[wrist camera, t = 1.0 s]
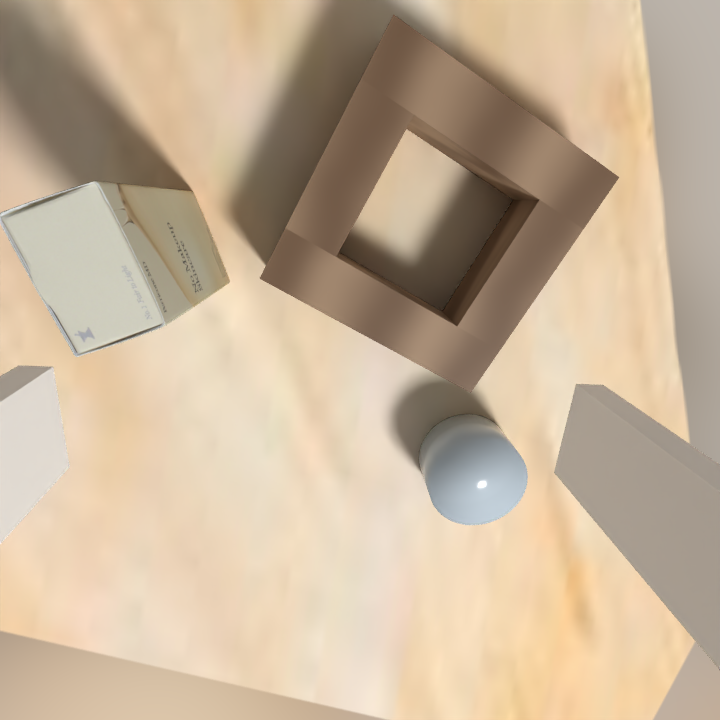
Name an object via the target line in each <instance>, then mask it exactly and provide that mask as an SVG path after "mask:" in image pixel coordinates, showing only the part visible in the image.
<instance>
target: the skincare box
mask: <svg viewBox="0 0 720 720" xmlns="http://www.w3.org/2000/svg"><path fill="white" fill-rule="evenodd" d="M0 224H1V226H2V228H3V230H4V231H5V233H6V235H7V237H8V239H9V241H10V242H11V244H12V246H13V248H14V250H15V252H16V253H17V255H18V257H19V259H20V261H21V263H22V264H23V266H24V268H25V270H26V272H27V273H28V276H29V277H30V279H31V281H32V283H33V285H34V287H35V288H36V290H37V292H38V294H39V295H40V297H41V299H42V300H43V302H44V304H45V305H46V307H47V309H48V311H49V312H50V314H51V316H52V317H53V319H54V321H55V322H56V324H57V326H58V328H59V329H60V331H61V333H62V335H63V336H64V338H65V340H66V341H67V343H68V345H69V347H70V348H71V350H72V352H73V354H74V355H75V356H76V357H79V356H82V355H85V354H88V353H91V352H95V351H98V350H101V349H104V348H107V347H110V346H113V345H116V344H119V343H122V342H125V341H128V340H130V339H133V338H136V337H139V336H141V335H144V334H147V333H149V332H152V331H154V330H157V329H160V328H162V327H164V326H165V325H167V324H169V323H170V322H172V321H173V320H175V319H176V318H178V317H180V316H181V315H183V314H184V313H186V312H187V311H189V310H190V309H192V308H193V307H195V306H196V305H198V304H199V303H201V302H202V301H204V300H205V299H206V298H208V297H209V296H211V295H212V294H214V293H215V292H217V291H218V290H220V289H221V288H222V287H224V286H225V285H227V284H228V283H229V282H230V280H229V277H228V275H227V272H226V270H225V267H224V265H223V262H222V260H221V257H220V255H219V252H218V250H217V247H216V245H215V242H214V240H213V237H212V235H211V232H210V230H209V228H208V225H207V223H206V220H205V218H204V216H203V213H202V211H201V209H200V206H199V204H198V201H197V199H196V197H195V195H194V193H193V192H192V191H188V190H176V189H167V188H158V187H149V186H139V185H129V184H120V183H111V182H102V181H92V182H89V183H86V184H83V185H80V186H77V187H74V188H70V189H67V190H64V191H61V192H58V193H55V194H52V195H49V196H46V197H43V198H40V199H37V200H34V201H31V202H28V203H25V204H23V205H20V206H17V207H14V208H12V209H9V210H6V211H4V212H1V213H0Z"/></svg>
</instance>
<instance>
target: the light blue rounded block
mask: <svg viewBox="0 0 720 720" xmlns="http://www.w3.org/2000/svg"><path fill="white" fill-rule="evenodd" d="M419 464H420V468H421V471H422V474H423V477H424V480H425V483H426V486H427V489H428V492H429V495H430V498H431V501H432V503H433V505H434V507H435V508H436V509H437V511H438V512H439V513H440V514H441V515H443V516H444V517H445V518H447V519H449V520H451V521H453V522H456V523H459V524H464V525H480V524H485V523H489V522H492V521H495V520H497V519H499V518H501V517H503V516H504V515H506V514H507V513H509V512H510V511H511V510H512V509H513V508H514V507H515V506H516V505H517V504H518V502H519V501H520V499H521V498H522V496H523V494H524V492H525V489H526V485H527V478H528V476H527V469H526V465H525V463H524V460H523V459H522V457H521V456H520V454H519V453H518V452H517V450H516V449H515V448H514V446H513V445H512V444H511V442H510V441H509V439H508V438H507V437H506V435H505V434H504V433H503V431H502V430H501V429H500V428H499V427H498V425H496V424H495V423H494V422H493V421H491V420H489V419H487V418H485V417H482V416H479V415H473V414H463V415H457V416H453V417H450V418H448V419H446V420H443V421H442V422H440V423H439V424H437V425H436V426H435V427H433V428H432V429H431V430H430V432H429V433H428V434H427V435H426V437H425V439H424V440H423V442H422V445H421V448H420V452H419Z"/></svg>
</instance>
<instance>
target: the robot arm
mask: <svg viewBox="0 0 720 720" xmlns="http://www.w3.org/2000/svg"><path fill="white" fill-rule="evenodd" d="M69 467H70V466H69V460H68V454H67V448H66V442H65V436H64V430H63V424H62V418H61V411H60V405H59V399H58V393H57V387H56V381H55V375H54V369H53V367H44V366H17V367H15V368H14V369H12V370H10V371H9V372H7V373H5V374H3V375H2V376H0V544H1V543H2V542H3V541H4V540H5V538H6V537H7V536H8V535H9V534H10V533H11V532H12V531H13V530H14V528H15V527H16V526H17V525H18V524H19V523H20V522H21V521H22V519H23V518H24V517H25V516H26V515H27V514H28V513H29V512H30V511H31V509H32V508H33V507H34V506H35V505H36V504H37V503H38V502H39V500H40V499H41V498H42V497H43V496H44V495H45V494H46V493H47V492H48V490H49V489H50V488H51V487H52V486H53V485H54V484H55V483H56V481H57V480H58V479H59V478H60V477H61V476H62V475H63V474H64V473H65V471H66V470H67V469H68V468H69ZM554 473H555V474H556V475H557V477H558V478H559V479H560V480H561V481H562V482H563V484H564V485H565V486H566V487H567V488H568V490H569V491H570V492H571V493H572V494H573V496H574V497H575V498H576V499H577V500H578V502H579V503H580V504H581V505H582V506H583V508H584V509H585V510H586V511H587V512H588V513H589V515H590V516H591V517H592V518H593V519H594V521H595V522H596V523H597V524H598V525H599V527H600V528H601V529H602V530H603V531H604V533H605V534H606V535H607V536H608V537H609V539H610V540H611V541H612V542H613V543H614V544H615V546H616V547H617V548H618V549H619V550H620V552H621V553H622V554H623V555H624V556H625V558H626V559H627V560H628V561H629V562H630V564H631V565H632V566H633V567H634V568H635V570H636V571H637V572H638V573H639V574H640V575H641V577H642V578H643V579H644V580H645V581H646V583H647V584H648V585H649V586H650V587H651V589H652V590H653V591H654V592H655V593H656V595H657V596H658V597H659V598H660V599H661V601H662V602H663V603H664V604H665V605H666V606H667V608H668V609H669V610H670V611H671V612H672V614H673V615H674V616H675V617H676V618H677V620H678V621H679V622H680V623H681V624H682V626H683V627H684V628H685V629H686V630H687V632H688V633H689V634H690V635H691V636H692V637H693V639H694V640H695V641H696V642H697V643H698V644H699V646H700V647H701V648H702V649H703V651H704V652H705V653H706V654H707V655H708V656H709V658H710V659H711V660H712V661H713V663H714V664H715V665H716V666H717V667H718V668H719V670H720V464H718V463H717V462H715V461H714V460H712V459H711V458H709V457H708V456H706V455H705V454H704V453H702V452H701V451H699V450H698V449H696V448H694V447H693V446H692V445H690V444H689V443H687V442H686V441H684V440H683V439H682V438H680V437H679V436H677V435H676V434H674V433H673V432H671V431H670V430H668V429H667V428H665V427H664V426H662V425H661V424H660V423H658V422H657V421H655V420H654V419H652V418H651V417H649V416H648V415H646V414H645V413H643V412H642V411H640V410H639V409H638V408H636V407H635V406H633V405H632V404H630V403H629V402H627V401H626V400H624V399H623V398H621V397H620V396H618V395H617V394H616V393H614V392H613V391H611V390H610V389H608V388H607V387H605V386H604V385H589V384H576V386H575V391H574V395H573V399H572V403H571V407H570V411H569V415H568V419H567V423H566V427H565V431H564V435H563V439H562V443H561V447H560V451H559V455H558V459H557V463H556V467H555V471H554Z"/></svg>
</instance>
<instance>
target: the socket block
mask: <svg viewBox="0 0 720 720" xmlns="http://www.w3.org/2000/svg"><path fill="white" fill-rule="evenodd" d="M406 129H408V130H409V131H411V132H412V133H414V134H415V135H417V136H418V137H420V138H421V139H423V140H424V141H426V142H427V143H429V144H430V145H432V146H433V147H435V148H436V149H438V150H439V151H441V152H442V153H444V154H445V155H447V156H448V157H450V158H451V159H453V160H454V161H456V162H457V163H459V164H460V165H462V166H463V167H465V168H466V169H468V170H469V171H471V172H472V173H474V174H475V175H477V176H478V177H480V178H481V179H483V180H484V181H486V182H487V183H489V184H491V185H492V186H494V187H495V188H497V189H498V190H500V191H501V192H503V193H504V194H506V195H507V196H509V197H510V198H512V199H513V201H512V203H511V205H510V206H509V208H508V209H507V211H506V212H505V214H504V216H503V217H502V219H501V220H500V222H499V223H498V225H497V227H496V228H495V230H494V231H493V233H492V234H491V236H490V238H489V239H488V241H487V242H486V244H485V245H484V247H483V249H482V250H481V252H480V253H479V255H478V256H477V258H476V260H475V261H474V263H473V264H472V266H471V267H470V269H469V271H468V272H467V274H466V275H465V277H464V279H463V280H462V282H461V283H460V285H459V286H458V288H457V290H456V291H455V293H454V294H453V296H452V297H451V299H450V301H449V302H448V304H447V305H446V307H445V308H444V310H443V312H442V311H440V310H438V309H437V308H435V307H433V306H432V305H430V304H428V303H426V302H425V301H423V300H421V299H419V298H418V297H416V296H414V295H412V294H411V293H409V292H407V291H406V290H404V289H402V288H400V287H399V286H397V285H395V284H393V283H392V282H390V281H388V280H386V279H385V278H383V277H381V276H380V275H378V274H376V273H374V272H373V271H371V270H369V269H367V268H366V267H364V266H362V265H360V264H359V263H357V262H355V261H354V260H352V259H350V258H348V257H347V256H345V255H343V254H341V253H340V252H339V251H340V249H341V247H342V245H343V243H344V242H345V240H346V238H347V236H348V234H349V232H350V231H351V229H352V227H353V225H354V223H355V222H356V220H357V218H358V216H359V214H360V212H361V211H362V209H363V207H364V205H365V203H366V201H367V200H368V198H369V196H370V194H371V192H372V191H373V189H374V187H375V185H376V183H377V181H378V180H379V178H380V176H381V174H382V172H383V170H384V169H385V167H386V165H387V163H388V161H389V160H390V158H391V156H392V154H393V152H394V150H395V149H396V147H397V145H398V143H399V141H400V139H401V138H402V136H403V134H404V132H405V130H406ZM618 178H619V177H618V176H617V175H615V174H614V173H612V172H611V171H610V170H608V169H607V168H606V167H604V166H603V165H601V164H600V163H599V162H597V161H596V160H594V159H593V158H592V157H590V156H589V155H588V154H586V153H585V152H583V151H582V150H581V149H579V148H578V147H576V146H575V145H574V144H572V143H571V142H570V141H568V140H567V139H565V138H564V137H563V136H561V135H560V134H558V133H557V132H556V131H554V130H553V129H552V128H550V127H549V126H547V125H546V124H545V123H543V122H542V121H540V120H539V119H538V118H536V117H535V116H534V115H532V114H531V113H529V112H528V111H527V110H525V109H524V108H522V107H521V106H520V105H518V104H517V103H516V102H514V101H513V100H511V99H510V98H509V97H507V96H506V95H504V94H503V93H502V92H500V91H499V90H498V89H496V88H495V87H493V86H492V85H491V84H489V83H488V82H486V81H485V80H484V79H482V78H481V77H480V76H478V75H477V74H475V73H474V72H473V71H471V70H470V69H468V68H467V67H466V66H464V65H463V64H461V63H460V62H459V61H457V60H456V59H455V58H453V57H452V56H450V55H449V54H448V53H446V52H445V51H443V50H442V49H441V48H439V47H438V46H437V45H435V44H434V43H432V42H431V41H430V40H428V39H427V38H425V37H424V36H423V35H421V34H420V33H419V32H417V31H416V30H414V29H413V28H412V27H410V26H409V25H407V24H406V23H405V22H403V21H402V20H401V19H399V18H398V17H396V16H395V15H393V17H392V19H391V21H390V23H389V25H388V27H387V28H386V30H385V32H384V34H383V36H382V38H381V40H380V42H379V44H378V46H377V48H376V50H375V52H374V54H373V56H372V58H371V60H370V62H369V64H368V66H367V68H366V70H365V72H364V74H363V76H362V78H361V80H360V82H359V84H358V86H357V88H356V90H355V92H354V94H353V95H352V97H351V99H350V101H349V103H348V105H347V107H346V109H345V111H344V113H343V115H342V117H341V119H340V121H339V123H338V125H337V127H336V129H335V131H334V133H333V135H332V137H331V139H330V141H329V143H328V145H327V147H326V149H325V151H324V153H323V155H322V157H321V159H320V161H319V162H318V164H317V166H316V168H315V170H314V172H313V174H312V176H311V178H310V180H309V182H308V184H307V186H306V188H305V190H304V192H303V194H302V196H301V198H300V200H299V202H298V204H297V206H296V208H295V210H294V212H293V214H292V216H291V218H290V220H289V222H288V224H287V226H286V228H285V229H284V231H283V233H282V235H281V237H280V239H279V241H278V243H277V245H276V247H275V249H274V251H273V253H272V255H271V257H270V259H269V261H268V263H267V265H266V267H265V269H264V271H263V273H262V275H261V277H260V279H261V280H263V281H265V282H267V283H269V284H271V285H272V286H274V287H276V288H278V289H280V290H282V291H284V292H285V293H287V294H289V295H291V296H293V297H295V298H297V299H298V300H300V301H302V302H304V303H306V304H308V305H309V306H311V307H313V308H315V309H317V310H319V311H321V312H322V313H324V314H326V315H328V316H330V317H332V318H334V319H335V320H337V321H339V322H341V323H343V324H345V325H346V326H348V327H350V328H352V329H354V330H356V331H358V332H359V333H361V334H363V335H365V336H367V337H369V338H371V339H372V340H374V341H376V342H378V343H380V344H382V345H383V346H385V347H387V348H389V349H391V350H393V351H395V352H396V353H398V354H400V355H402V356H404V357H406V358H407V359H409V360H411V361H413V362H415V363H417V364H419V365H420V366H422V367H424V368H426V369H428V370H430V371H432V372H433V373H435V374H437V375H439V376H441V377H443V378H444V379H446V380H448V381H450V382H452V383H454V384H456V385H457V386H459V387H461V388H463V389H465V390H467V391H469V392H470V393H471V392H472V390H473V389H474V387H475V386H476V384H477V383H478V381H479V380H480V378H481V377H482V376H483V374H484V373H485V371H486V370H487V368H488V367H489V365H490V364H491V363H492V361H493V360H494V358H495V357H496V355H497V354H498V352H499V351H500V349H501V348H502V347H503V345H504V344H505V342H506V341H507V339H508V338H509V336H510V335H511V333H512V332H513V331H514V329H515V328H516V326H517V325H518V323H519V322H520V320H521V319H522V318H523V316H524V315H525V313H526V312H527V310H528V309H529V307H530V306H531V304H532V303H533V302H534V300H535V299H536V297H537V296H538V294H539V293H540V291H541V290H542V289H543V287H544V286H545V284H546V283H547V281H548V280H549V278H550V277H551V275H552V274H553V273H554V271H555V270H556V268H557V267H558V265H559V264H560V262H561V261H562V260H563V258H564V257H565V255H566V254H567V252H568V251H569V249H570V248H571V246H572V245H573V244H574V242H575V241H576V239H577V238H578V236H579V235H580V233H581V232H582V231H583V229H584V228H585V226H586V225H587V223H588V222H589V220H590V219H591V217H592V216H593V215H594V213H595V212H596V210H597V209H598V207H599V206H600V204H601V203H602V202H603V200H604V199H605V197H606V196H607V194H608V193H609V191H610V190H611V188H612V187H613V186H614V184H615V183H616V181H617V180H618Z"/></svg>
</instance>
